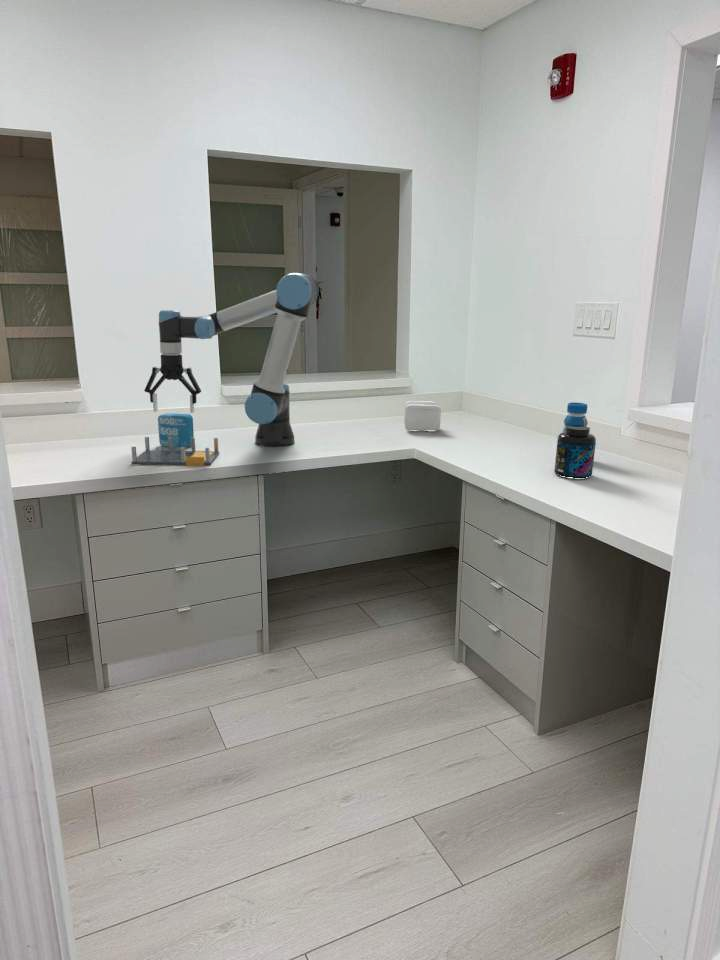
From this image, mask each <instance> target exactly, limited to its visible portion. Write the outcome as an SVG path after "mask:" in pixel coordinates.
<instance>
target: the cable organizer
mask: <svg viewBox="0 0 720 960" xmlns="http://www.w3.org/2000/svg"><path fill="white" fill-rule="evenodd" d="M441 415H442V409H441V407H440V406H439V405H438V403H437V402H436V401H430V400H428V401H427V400H426V401H423V400H408V401H406V402H405V403H404V418H403V423H404V429H405V430H407V431H409V430H438V431H439V430H440V428H441Z"/></svg>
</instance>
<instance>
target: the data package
mask: <svg viewBox="0 0 720 960" xmlns="http://www.w3.org/2000/svg"><path fill="white" fill-rule="evenodd" d="M157 425H158V439H159V440H158V441H159V445H160V447H163V446H168V437H172V447H173V448H181V447H187V448H189V447H191V437H194V436H195V434H194V417H193V416H192V414H191V413H172V412H170V413H169V412H165V413H162V414H160V415H158V417H157Z"/></svg>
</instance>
